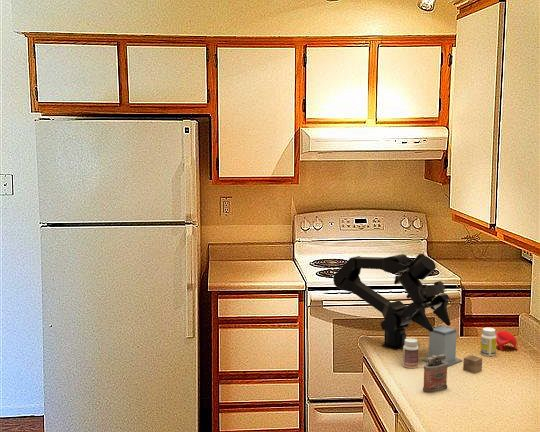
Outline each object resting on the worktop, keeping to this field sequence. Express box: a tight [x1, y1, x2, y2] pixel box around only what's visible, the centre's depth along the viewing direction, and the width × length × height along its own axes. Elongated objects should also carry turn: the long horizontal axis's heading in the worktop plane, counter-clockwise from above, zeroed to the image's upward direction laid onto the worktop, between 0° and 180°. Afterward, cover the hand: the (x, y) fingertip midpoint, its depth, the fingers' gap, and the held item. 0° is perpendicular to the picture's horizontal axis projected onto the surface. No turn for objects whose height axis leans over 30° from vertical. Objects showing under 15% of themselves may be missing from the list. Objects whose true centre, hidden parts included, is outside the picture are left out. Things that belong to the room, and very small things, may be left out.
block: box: [462, 354, 483, 374], centre depth 216 cm, size 4×4×4 cm
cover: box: [428, 324, 458, 362], centre depth 223 cm, size 6×6×10 cm
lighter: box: [422, 354, 448, 394], centre depth 201 cm, size 8×3×10 cm, turn 117°
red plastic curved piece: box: [495, 330, 518, 351], centre depth 235 cm, size 8×6×6 cm
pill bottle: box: [402, 337, 420, 369], centre depth 219 cm, size 5×5×8 cm
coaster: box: [421, 355, 463, 368], centre depth 224 cm, size 9×9×1 cm
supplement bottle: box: [480, 327, 497, 357], centre depth 230 cm, size 5×5×8 cm
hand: (441, 328), depth 223 cm, fingers open, 9 cm apart
